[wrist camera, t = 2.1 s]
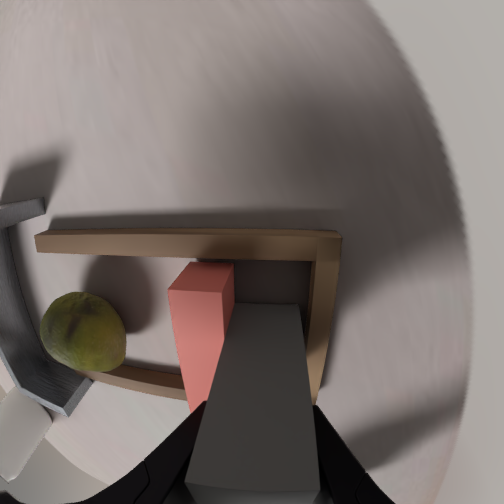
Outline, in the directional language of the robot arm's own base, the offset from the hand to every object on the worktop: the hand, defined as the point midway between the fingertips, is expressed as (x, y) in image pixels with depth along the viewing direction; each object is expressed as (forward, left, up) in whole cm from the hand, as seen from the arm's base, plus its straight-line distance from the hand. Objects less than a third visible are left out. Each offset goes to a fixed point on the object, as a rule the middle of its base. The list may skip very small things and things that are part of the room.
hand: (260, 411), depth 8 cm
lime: (0, +10, -6) cm, 11 cm away
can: (-16, +27, -6) cm, 32 cm away
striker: (0, +1, -5) cm, 5 cm away
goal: (0, +16, -6) cm, 17 cm away
